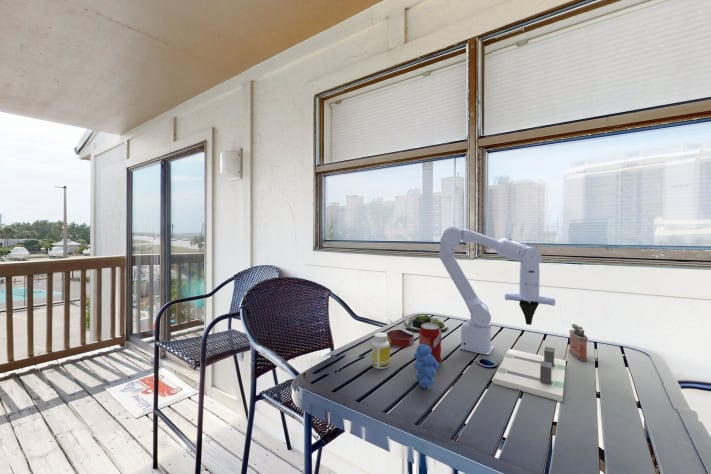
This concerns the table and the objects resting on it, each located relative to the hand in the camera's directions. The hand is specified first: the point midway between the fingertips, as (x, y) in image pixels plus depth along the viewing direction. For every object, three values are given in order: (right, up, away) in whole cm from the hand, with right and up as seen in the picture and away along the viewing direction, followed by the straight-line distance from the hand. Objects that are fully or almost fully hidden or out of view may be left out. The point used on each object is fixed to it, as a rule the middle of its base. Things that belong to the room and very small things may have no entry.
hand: (528, 323), depth 105 cm
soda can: (-34, -11, -5) cm, 36 cm away
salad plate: (-28, -10, +29) cm, 42 cm away
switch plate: (-6, -11, -13) cm, 18 cm away
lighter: (+15, -11, -1) cm, 19 cm away
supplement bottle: (-50, -11, -7) cm, 51 cm away
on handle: (0, -9, -10) cm, 14 cm away
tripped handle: (-6, -10, -20) cm, 23 cm away
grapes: (-38, -12, -20) cm, 44 cm away
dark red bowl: (-41, -11, +13) cm, 44 cm away
